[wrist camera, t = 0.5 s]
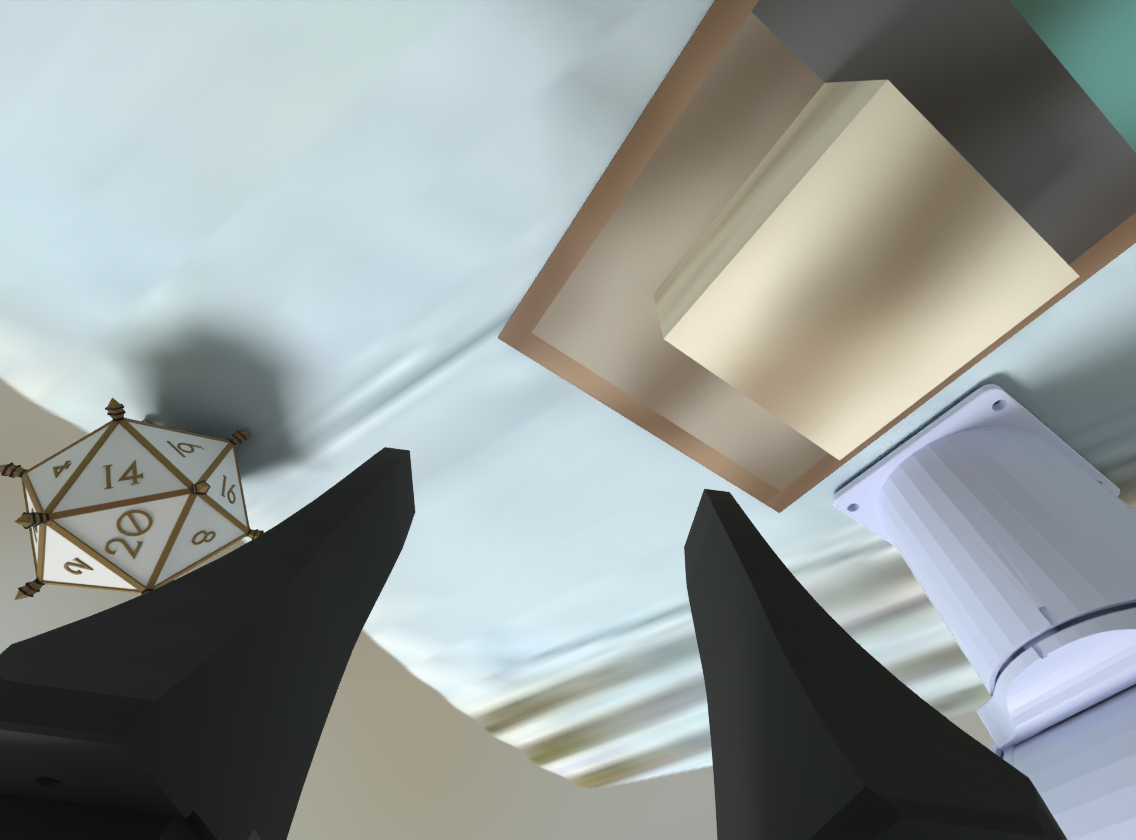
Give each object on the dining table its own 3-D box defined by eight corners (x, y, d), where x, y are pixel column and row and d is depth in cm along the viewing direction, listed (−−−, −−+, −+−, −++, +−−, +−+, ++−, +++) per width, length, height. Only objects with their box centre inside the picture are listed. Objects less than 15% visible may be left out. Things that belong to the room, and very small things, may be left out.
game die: (226, 380, 27) (20, 338, 17) (341, 484, 26) (198, 504, 16) (112, 506, 26) (-169, 538, 16) (226, 613, 26) (8, 714, 16)
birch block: (986, 240, 17) (1079, 276, 14) (802, 401, 21) (839, 460, 17) (824, 82, 15) (887, 79, 11) (653, 295, 19) (663, 339, 15)
